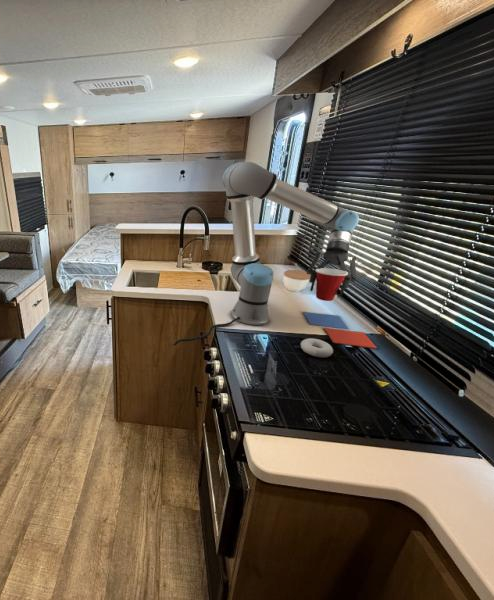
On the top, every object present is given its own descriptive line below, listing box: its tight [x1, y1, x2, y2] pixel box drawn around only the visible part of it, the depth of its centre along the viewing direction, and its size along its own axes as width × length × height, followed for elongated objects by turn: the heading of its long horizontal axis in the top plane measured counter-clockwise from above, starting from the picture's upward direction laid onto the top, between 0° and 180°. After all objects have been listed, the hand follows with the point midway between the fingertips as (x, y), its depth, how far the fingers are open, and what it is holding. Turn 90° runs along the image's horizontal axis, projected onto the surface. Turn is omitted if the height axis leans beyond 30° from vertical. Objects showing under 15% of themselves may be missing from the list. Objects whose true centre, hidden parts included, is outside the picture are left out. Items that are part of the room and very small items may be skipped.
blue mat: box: [302, 311, 349, 330], centre depth 134 cm, size 12×14×1 cm
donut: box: [300, 338, 334, 359], centre depth 111 cm, size 10×4×10 cm
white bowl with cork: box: [282, 269, 311, 293], centre depth 165 cm, size 13×13×11 cm
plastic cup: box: [314, 267, 349, 302], centre depth 123 cm, size 11×11×12 cm
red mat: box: [323, 327, 378, 350], centre depth 120 cm, size 12×14×1 cm
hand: (326, 291), depth 122 cm, fingers closed on plastic cup, 9 cm apart
